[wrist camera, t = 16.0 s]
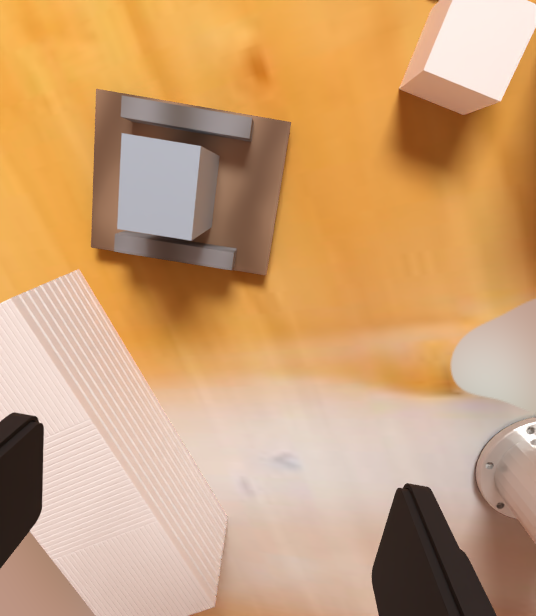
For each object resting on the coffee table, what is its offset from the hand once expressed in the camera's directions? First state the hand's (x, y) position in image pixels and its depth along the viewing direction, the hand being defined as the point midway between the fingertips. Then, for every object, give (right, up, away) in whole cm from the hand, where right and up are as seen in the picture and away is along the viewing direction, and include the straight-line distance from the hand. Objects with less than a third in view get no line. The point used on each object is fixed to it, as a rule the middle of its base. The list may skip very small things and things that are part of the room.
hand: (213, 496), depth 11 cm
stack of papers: (-15, -7, +34) cm, 37 cm away
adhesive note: (+16, +25, +23) cm, 38 cm away
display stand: (-6, +16, +26) cm, 31 cm away
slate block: (-6, +15, +24) cm, 29 cm away
